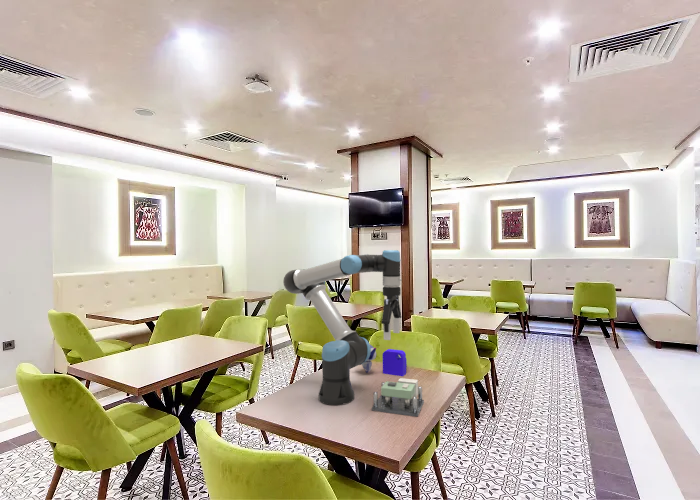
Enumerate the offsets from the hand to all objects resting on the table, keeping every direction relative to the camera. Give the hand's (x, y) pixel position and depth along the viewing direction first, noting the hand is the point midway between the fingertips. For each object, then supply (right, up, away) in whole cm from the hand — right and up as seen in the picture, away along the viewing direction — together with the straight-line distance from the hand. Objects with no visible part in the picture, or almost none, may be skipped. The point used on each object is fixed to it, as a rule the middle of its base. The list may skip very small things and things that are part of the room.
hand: (391, 336), depth 158 cm
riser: (+7, -26, +4) cm, 28 cm away
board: (+2, -21, -9) cm, 23 cm away
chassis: (+2, -26, -9) cm, 28 cm away
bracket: (+8, -27, +38) cm, 47 cm away
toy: (-9, -27, +34) cm, 44 cm away
